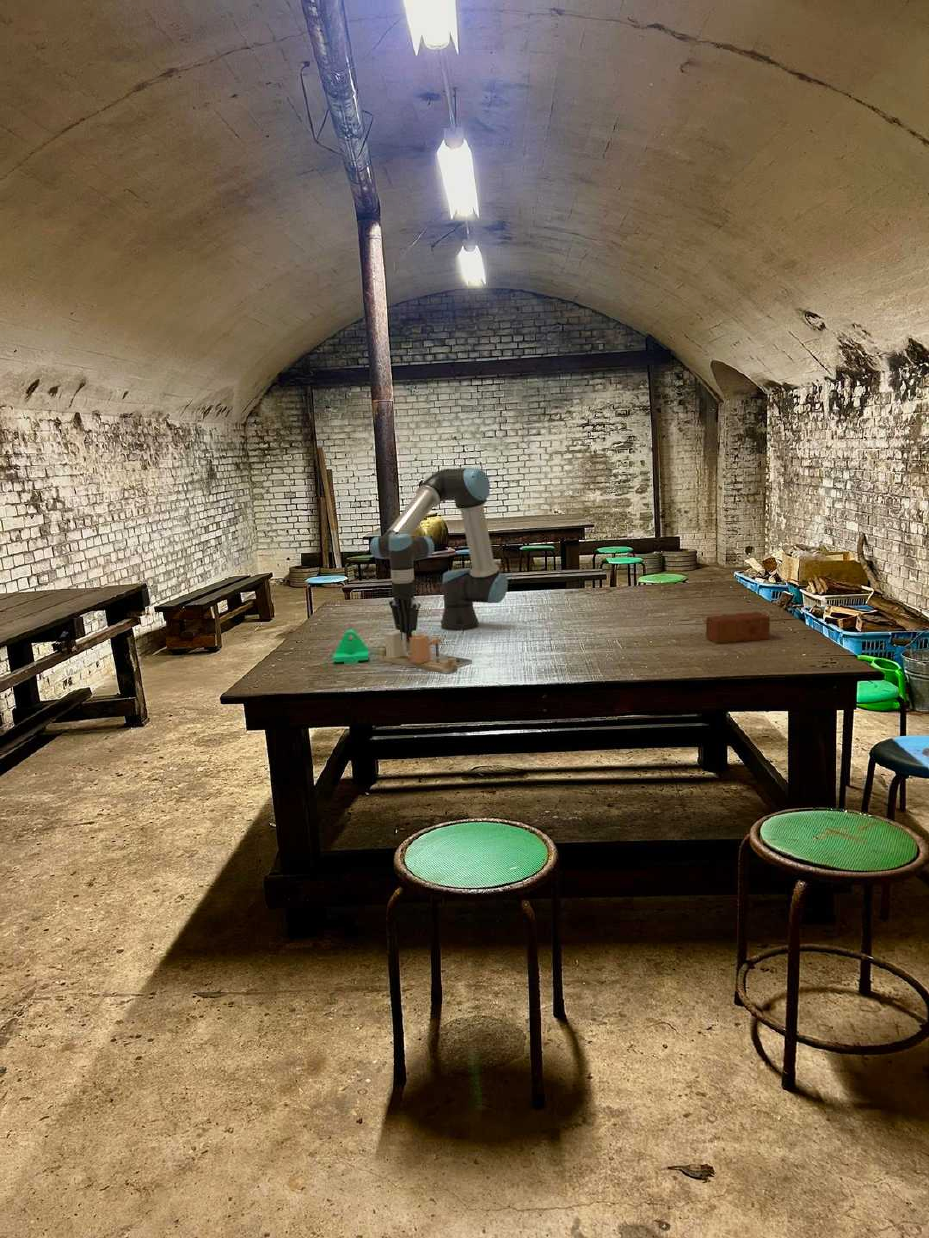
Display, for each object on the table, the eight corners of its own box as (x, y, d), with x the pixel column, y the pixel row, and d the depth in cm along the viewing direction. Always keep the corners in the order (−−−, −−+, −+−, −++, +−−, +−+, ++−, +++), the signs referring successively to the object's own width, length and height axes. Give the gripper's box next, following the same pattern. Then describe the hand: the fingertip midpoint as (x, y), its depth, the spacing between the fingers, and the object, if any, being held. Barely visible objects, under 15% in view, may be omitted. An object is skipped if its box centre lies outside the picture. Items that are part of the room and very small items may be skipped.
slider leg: (435, 654, 262) (433, 630, 261) (443, 656, 260) (442, 632, 258) (411, 662, 254) (409, 637, 252) (419, 664, 251) (418, 639, 250)
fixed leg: (410, 650, 270) (409, 627, 269) (418, 651, 268) (417, 628, 266) (386, 657, 262) (384, 633, 260) (394, 659, 259) (392, 634, 258)
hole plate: (413, 652, 274) (413, 649, 274) (472, 663, 256) (471, 659, 255) (396, 657, 268) (396, 654, 268) (455, 668, 250) (455, 665, 250)
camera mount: (333, 665, 263) (331, 636, 261) (335, 659, 270) (332, 631, 268) (368, 662, 264) (366, 633, 262) (369, 657, 271) (367, 628, 269)
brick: (770, 616, 264) (770, 640, 266) (757, 611, 272) (757, 634, 274) (717, 621, 261) (716, 645, 263) (705, 615, 269) (705, 639, 271)
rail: (390, 657, 268) (389, 646, 268) (456, 670, 247) (456, 658, 247) (379, 660, 265) (378, 649, 264) (446, 674, 244) (445, 662, 243)
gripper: (381, 581, 255) (386, 650, 259) (408, 584, 246) (413, 656, 251) (397, 578, 260) (402, 646, 265) (424, 581, 251) (429, 651, 256)
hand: (407, 650), depth 258 cm, fingers closed
